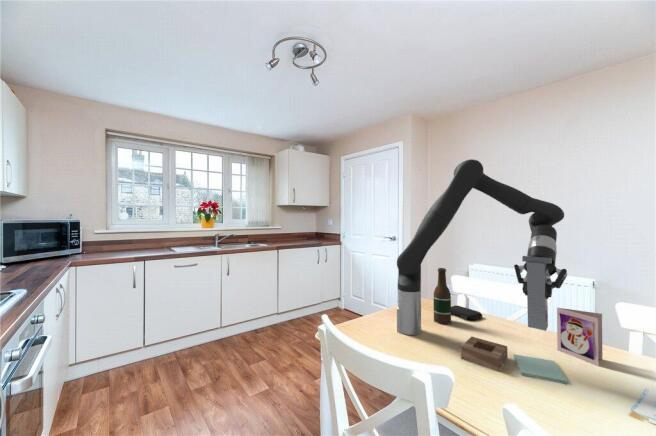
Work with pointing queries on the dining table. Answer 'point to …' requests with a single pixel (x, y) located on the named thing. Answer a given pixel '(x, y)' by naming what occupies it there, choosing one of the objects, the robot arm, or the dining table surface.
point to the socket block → (484, 353)
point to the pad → (539, 368)
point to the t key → (537, 291)
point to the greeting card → (580, 334)
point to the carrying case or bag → (465, 313)
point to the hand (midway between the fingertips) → (536, 295)
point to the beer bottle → (442, 299)
